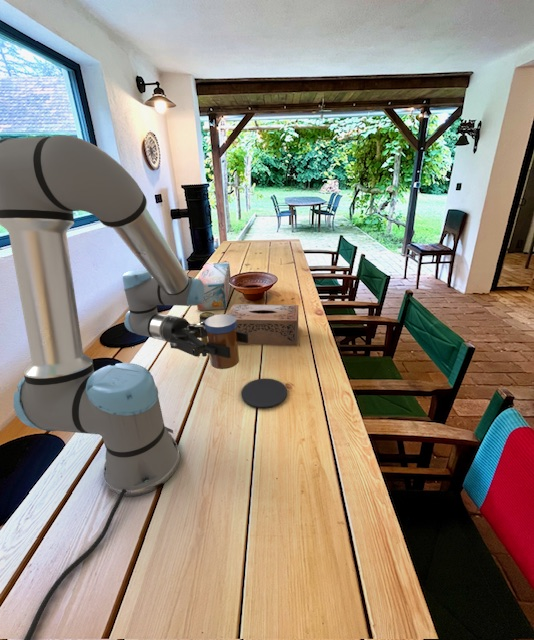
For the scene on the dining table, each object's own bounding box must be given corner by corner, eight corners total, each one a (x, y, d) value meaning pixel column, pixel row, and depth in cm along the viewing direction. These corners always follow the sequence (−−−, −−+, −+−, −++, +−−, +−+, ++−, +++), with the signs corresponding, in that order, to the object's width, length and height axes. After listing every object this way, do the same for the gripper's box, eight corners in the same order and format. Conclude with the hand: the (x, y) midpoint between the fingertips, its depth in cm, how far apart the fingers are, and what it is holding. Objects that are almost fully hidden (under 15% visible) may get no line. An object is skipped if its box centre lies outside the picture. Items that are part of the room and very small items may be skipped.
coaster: (279, 412, 84) (279, 410, 84) (234, 403, 88) (233, 401, 88) (292, 384, 95) (292, 382, 95) (251, 377, 99) (251, 375, 99)
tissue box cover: (298, 328, 129) (298, 305, 125) (296, 345, 116) (296, 320, 112) (235, 326, 132) (233, 304, 128) (227, 343, 119) (224, 319, 115)
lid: (228, 335, 77) (227, 328, 76) (199, 331, 79) (198, 325, 78) (241, 322, 83) (241, 315, 83) (214, 318, 86) (213, 312, 85)
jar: (232, 371, 81) (228, 330, 76) (205, 366, 83) (199, 326, 79) (243, 356, 88) (240, 317, 83) (218, 352, 90) (214, 314, 85)
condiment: (222, 344, 119) (219, 314, 114) (201, 351, 115) (196, 321, 110) (214, 337, 124) (210, 308, 119) (193, 343, 120) (189, 314, 115)
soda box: (227, 310, 149) (224, 283, 143) (197, 311, 148) (193, 285, 143) (231, 283, 186) (229, 261, 180) (207, 284, 185) (204, 262, 180)
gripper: (196, 326, 101) (259, 340, 90) (145, 357, 84) (215, 379, 74) (192, 304, 97) (258, 316, 87) (139, 332, 81) (212, 350, 71)
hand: (238, 345), depth 81 cm, fingers closed on jar, 8 cm apart
